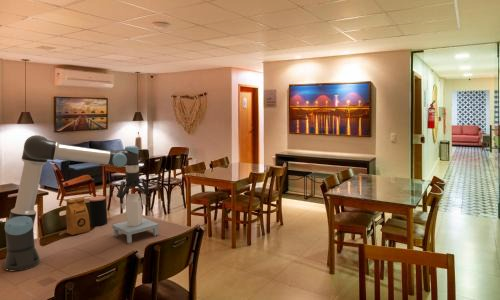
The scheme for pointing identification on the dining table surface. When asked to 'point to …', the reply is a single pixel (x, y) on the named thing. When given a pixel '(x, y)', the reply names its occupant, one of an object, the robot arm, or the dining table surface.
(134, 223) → the milk carton
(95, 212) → the coffee jar
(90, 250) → the dining table surface
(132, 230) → the grey square footed tray
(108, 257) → the dining table surface
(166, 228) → the dining table surface
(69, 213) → the coffee package
